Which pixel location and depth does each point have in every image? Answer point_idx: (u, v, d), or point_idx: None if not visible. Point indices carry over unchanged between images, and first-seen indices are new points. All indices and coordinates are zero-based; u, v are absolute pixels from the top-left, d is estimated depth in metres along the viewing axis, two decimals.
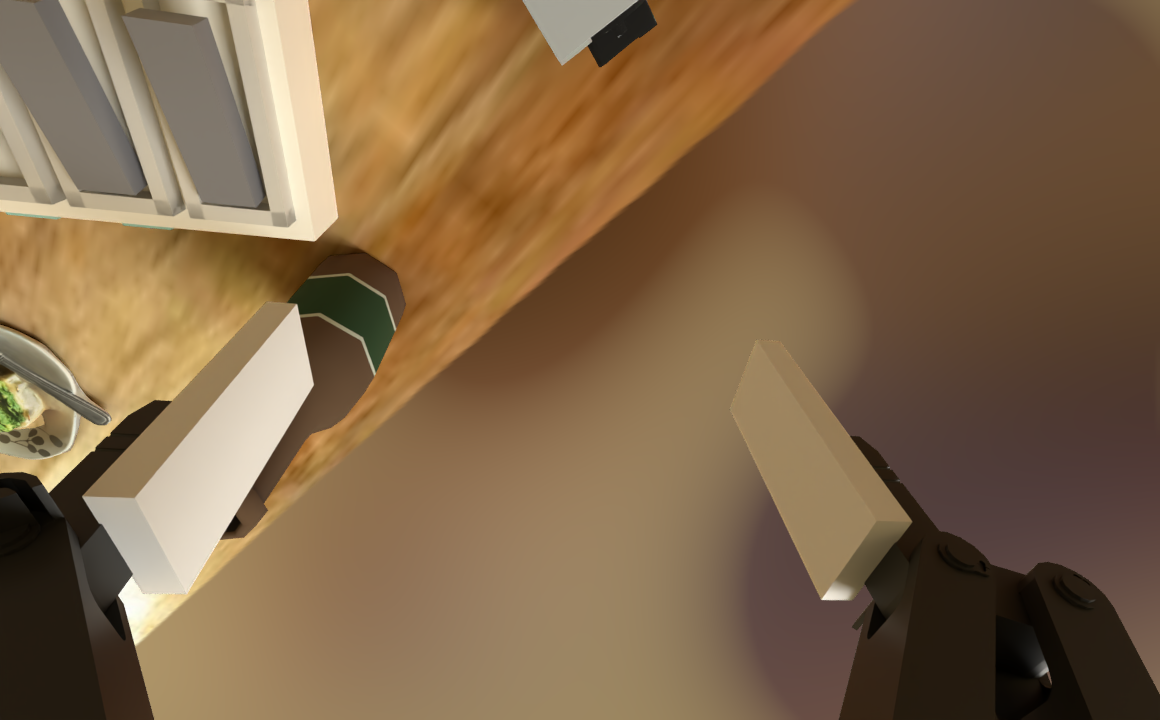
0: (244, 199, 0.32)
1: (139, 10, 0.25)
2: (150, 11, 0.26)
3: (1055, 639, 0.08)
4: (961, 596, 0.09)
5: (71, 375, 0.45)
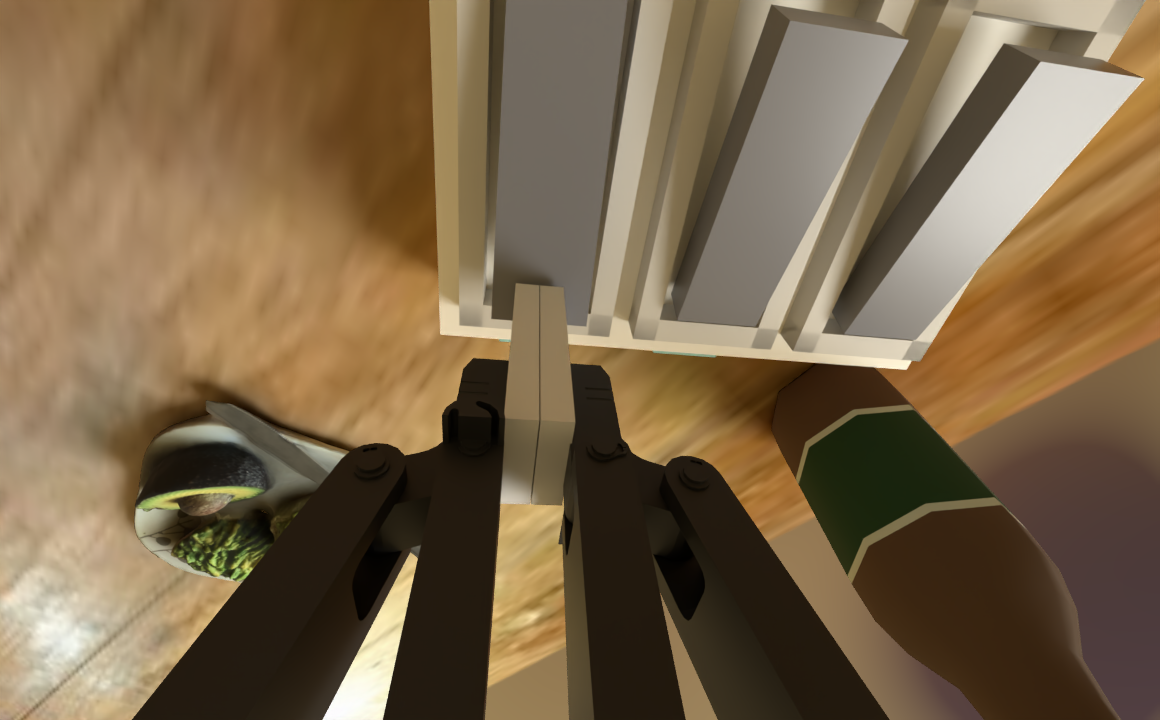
0: (910, 330, 0.20)
1: (1021, 49, 0.14)
2: (1031, 50, 0.14)
3: (694, 533, 0.09)
4: (612, 484, 0.10)
5: None
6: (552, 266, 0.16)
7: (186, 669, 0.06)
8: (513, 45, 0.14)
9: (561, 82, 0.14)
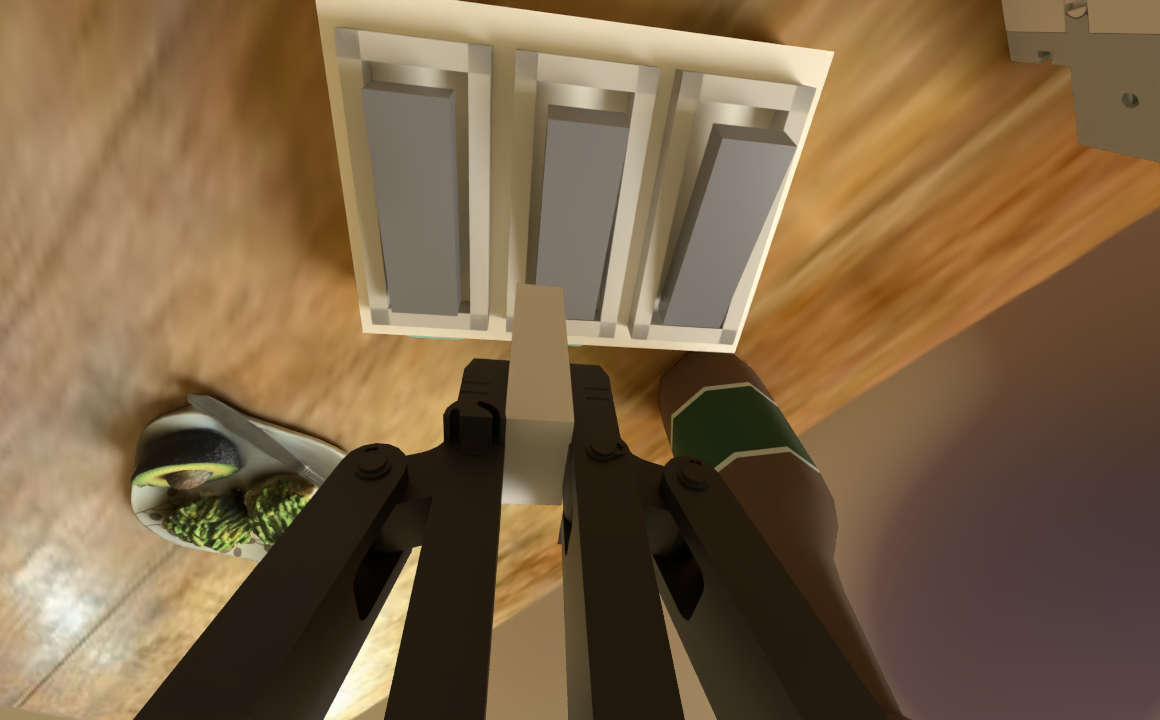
0: (712, 320, 0.27)
1: (721, 127, 0.21)
2: (729, 127, 0.21)
3: (693, 533, 0.09)
4: (611, 484, 0.10)
5: None
6: (427, 280, 0.24)
7: (187, 669, 0.06)
8: (375, 148, 0.20)
9: (412, 170, 0.21)
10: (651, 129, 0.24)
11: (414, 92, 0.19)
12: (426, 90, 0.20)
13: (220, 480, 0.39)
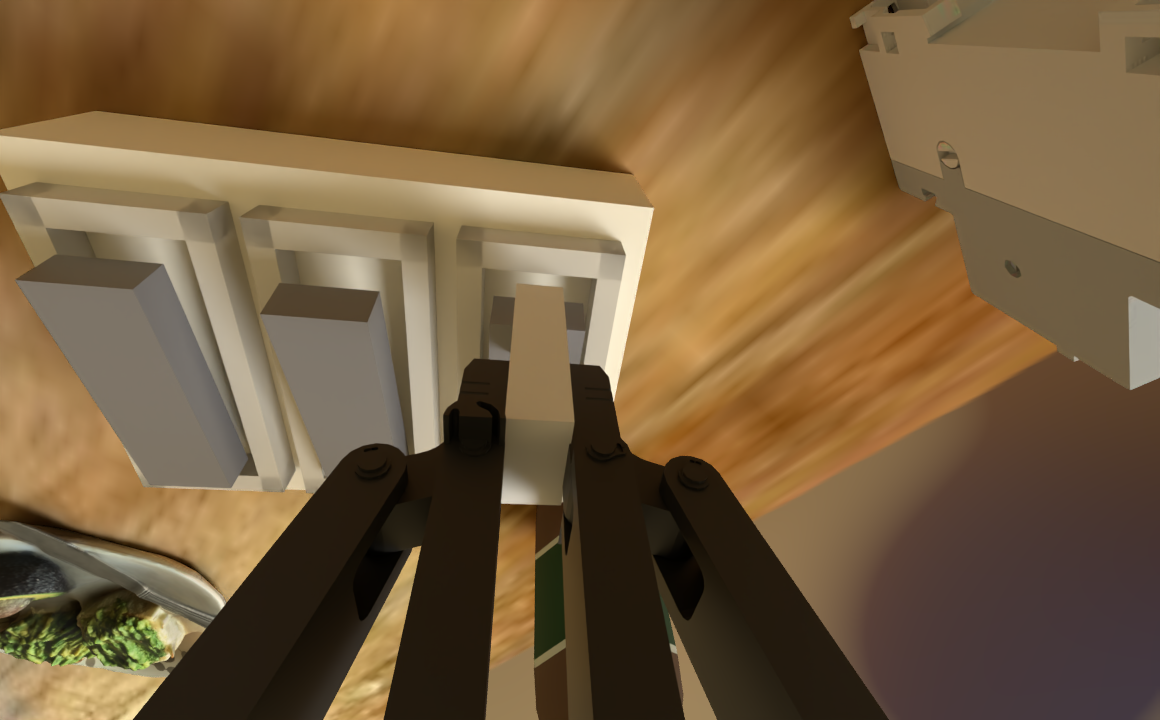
0: None
1: (499, 303, 0.17)
2: (511, 303, 0.18)
3: (693, 533, 0.09)
4: (611, 484, 0.10)
5: (223, 600, 0.37)
6: (181, 457, 0.20)
7: (187, 669, 0.06)
8: (61, 337, 0.16)
9: (117, 357, 0.17)
10: (445, 286, 0.20)
11: (94, 278, 0.16)
12: (118, 271, 0.16)
13: (53, 598, 0.35)
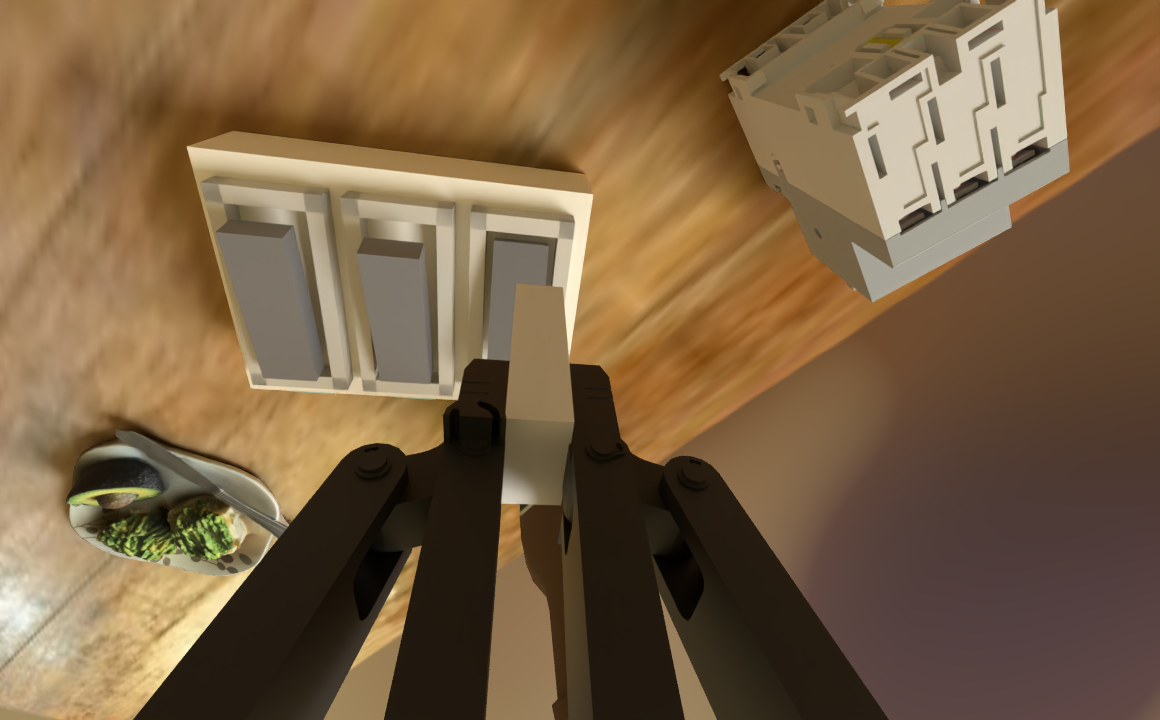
0: None
1: (498, 238, 0.30)
2: (505, 239, 0.30)
3: (693, 533, 0.09)
4: (611, 484, 0.10)
5: (278, 504, 0.47)
6: (288, 356, 0.31)
7: (188, 669, 0.06)
8: (232, 269, 0.27)
9: (263, 283, 0.28)
10: (461, 244, 0.31)
11: (258, 232, 0.26)
12: (269, 228, 0.27)
13: (147, 500, 0.46)
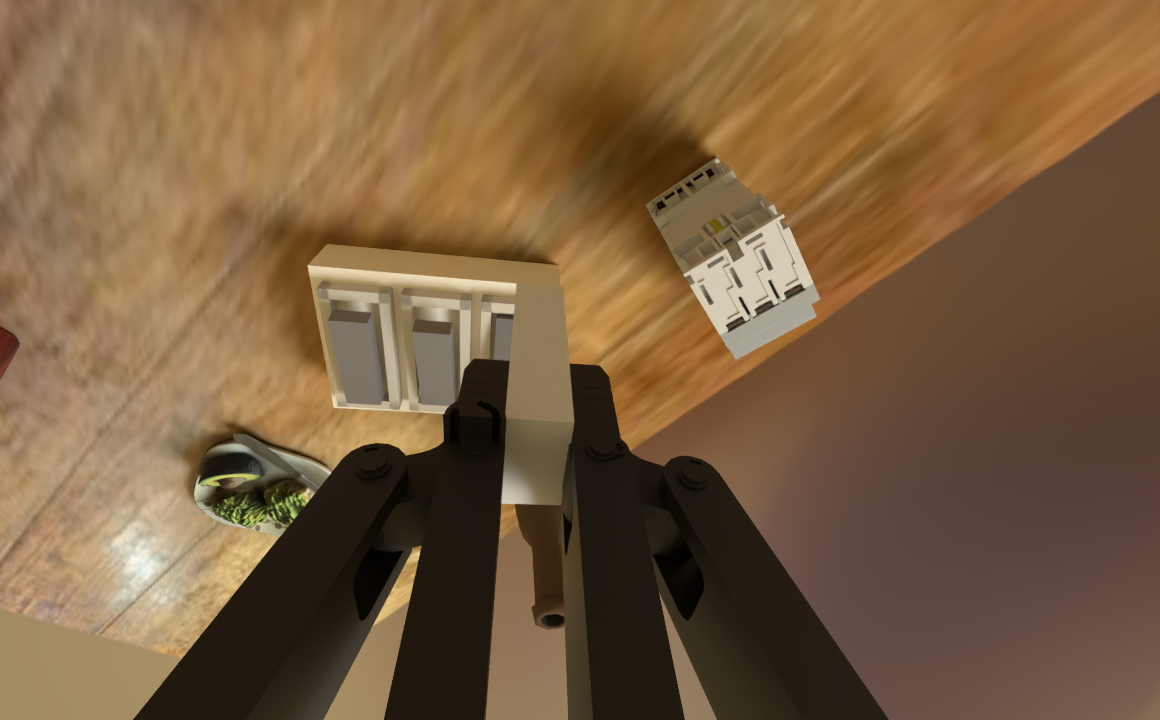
0: None
1: (499, 315, 0.47)
2: (504, 315, 0.47)
3: (693, 533, 0.09)
4: (611, 484, 0.10)
5: None
6: (364, 390, 0.48)
7: (188, 669, 0.06)
8: (335, 340, 0.44)
9: (353, 347, 0.45)
10: (475, 317, 0.48)
11: (352, 319, 0.43)
12: (358, 316, 0.44)
13: (249, 482, 0.63)
